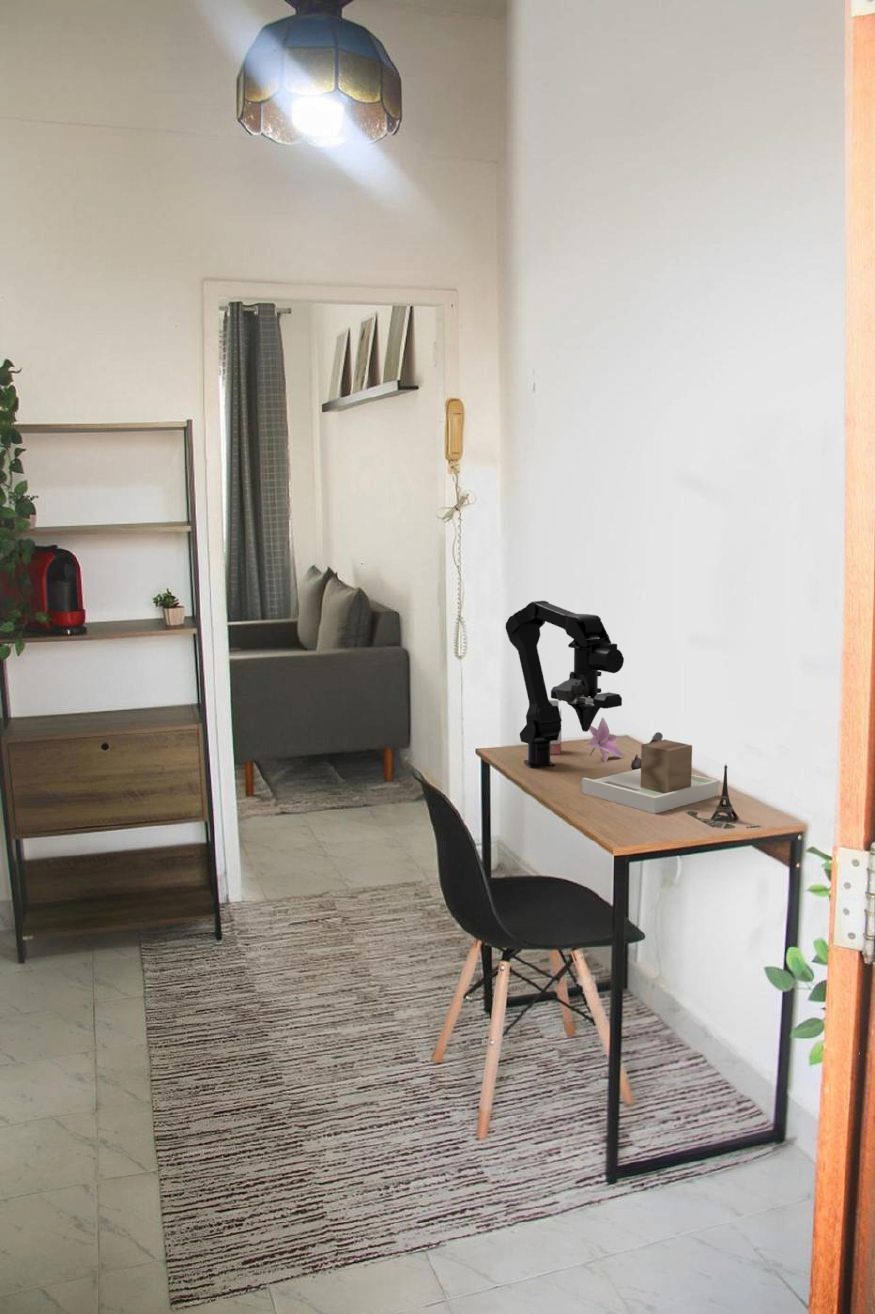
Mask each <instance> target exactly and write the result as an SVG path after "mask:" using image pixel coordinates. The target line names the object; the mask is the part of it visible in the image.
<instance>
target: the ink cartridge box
mask: <svg viewBox="0 0 875 1314" xmlns="http://www.w3.org/2000/svg"><path fill="white" fill-rule="evenodd" d="M548 700H549V702H550V703H551V704H552V705H553V706H558V708H559V705H560V704H559V702H560V701H559V700H558V699H552V700H551V699H548ZM559 714H560V717H561V718H562V708H559ZM561 752H562V728H561V729H560V732H559V736H558V740H557V741H550V755H560V754H561Z"/></svg>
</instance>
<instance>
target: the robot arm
mask: <svg viewBox="0 0 875 1314" xmlns="http://www.w3.org/2000/svg"><path fill="white" fill-rule="evenodd" d="M545 623H548V624H551V625H553V626H555V627H559V628H561V629H563V630H564V631H565V634H566V635H567V636H568V637H569V638H571V639H573V640H572V641H570V643H569V644H568V645H567V647H568V648H571V649H573V671H570V672H569V675H568V676H569V678H568V679H566V680H565V681H563V682H561V683H560V684H558V685H555V686H553V687H552V689H550V698H551V699H552V700H558V702H561V701H562V702H566V703H567V705H569V706H570V707H572V708H573V709H574V710H575V713H576V715H577V718H578V721H579V724H580V727H581V730H582V732H585V733H587V732H589V731H590V730H589V728H590V726H592V725H593V724H592V723H593V722H594V721H595V720H594V719H595V717H596V716H597V714H598V712H599V710H600V709H611V708H617V707H622V705H623V697H622V696H621V695H620V694H619V693H615V692H611V691H610V692H608V691H607V692H603V693H602V688H601V687H599V686H598V684H599V677H602V672H604V673H610V674H617V673H618V672H620V670H621V669H622V668H623V666H624V662H625V661H624V660H625V659H624V658H625V657H624V656H623V652H622V651H621V650H620V649H618V644H617V643H612V641H611V639H610V636H609V634H608V633H607V631H606V628H605V626H604V624H603V622H602V618H601V617H600V616H599V615H597V614H587V613H576V612H575V613H574V612H572V611H570V610H567V609H564V608H562V607H559V606H556V605H554V604H552V603H550V602H549V601H546V600H537V601H536V600H535V601H531V602H529V603H528V604H527V605H526V606H525V607H523V608H522V609H520V610H518V611H516V612H515V613H513V615H511V616H509V617H508V619H507V620H506V622H505V630H506V634H507V636H508V640H509V642H510V643H511V644H512V646H513V647H514V648H515V649H516V651H517V652H518V653H517V654H518V658H519V661H520V666H521V667H520V668H521V671H522V675H523V676H522V677H523V681H524V685H525V689H526V694H527V699H528V708H527V712H526V715H525V719H526V720H525V721H526V724H525V726H524V727H523V729H521V731H520V733H519V739H520V742H522V743H524V744H527V759H525V760H523V763H524V764H525V765H527V766H528V767H529V768H530V769H531V768H532V769H533V768H534V769H535V768H546V767H556V766H555V763H554V762H553V761H551V754H550V741H557V740H558V736H559V732H560V729H561V730H562V722H563V720H562V716H561V717H560V714H559V709H560V708H559V707H558V706H553V705H552V704H551V703H550V702H549V700H550V699H549V697H548V696H549V695H548V693H547V687H546V682H545V678H544V674H543V670H542V665H541V660H540V655H539V650H538V644H539V641H540V638H541V628H542V627H543V626H544V625H545Z"/></svg>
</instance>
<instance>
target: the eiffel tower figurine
mask: <svg viewBox="0 0 875 1314" xmlns="http://www.w3.org/2000/svg"><path fill="white" fill-rule="evenodd" d="M723 769H724V773H723V782H722V791H721V795H720V800H719V803H718V805H716V810H715V811H714V813H713V814H712V816H711V817H710V819H709V818H704V817H703V818H702V817H698V816H697V815H698V813H699V812H696V811H692V810H691V811H690V810H689V811H688V810H687V811H685V814H688V815H689V816H691V817H693V818H694V819H697V820H699V821H701V822H702V823H705V824H706V825H708V826H709V827H712V828H717V829H723V830H725V829H726V830H728V829H729V830H730V829H731V830H732V829H736V828H737V826H735V823H736V822H737V821H738V820H739V819H740V817H739V816H738V814H737V812H736V811H735V810H734V808H733V804H731V800H730V795H729V791H728V790H729V789H728V765H727V764H724V767H723ZM724 802H725V803H724ZM720 813H723V814H724V815H723V814H720ZM745 827H746V829H750V828H751V829H752V828H757V827H760V825H753V826H752V825H751V826H745Z"/></svg>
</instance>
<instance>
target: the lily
mask: <svg viewBox="0 0 875 1314" xmlns="http://www.w3.org/2000/svg"><path fill="white" fill-rule="evenodd" d="M588 731H589V732H590V734H591V735H592V737H591V738H590V740H589V741H588V743H587V746H588V747H591V748H593V749H592V750H591V752H590V753H589V756H590V757H591V756H592V754H593V752H594V751H595V750H596V749H598V750H600V753H601V756H602V759H603V761H604V763H607V761H608V759H609V755H610V754H612V755H614V756H616V757H618V758H620V759H624V755H623V753H622V751H621V749H620V748H619V747H618V745H617V744H616V743H617V741H619V740H618V739H619V736H618V735H616V734H614V733H613V734H612V733H610V729H609V726H608V723H607V722H606V720H605V718H604V717H601V718H600V721H599V723H598V727H597V728H596V727H594V726H592V725H591V726H590V728H589V730H588Z"/></svg>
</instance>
